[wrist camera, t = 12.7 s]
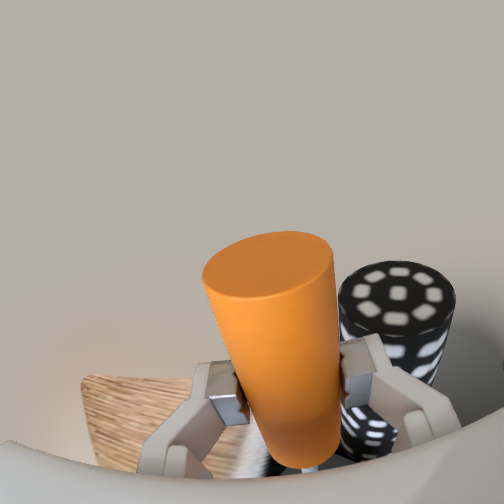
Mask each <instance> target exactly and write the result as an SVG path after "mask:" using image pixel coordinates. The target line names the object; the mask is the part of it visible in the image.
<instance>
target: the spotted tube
mask: <svg viewBox="0 0 504 504" xmlns="http://www.w3.org/2000/svg"><path fill="white" fill-rule="evenodd" d="M455 304H456V295H455V292H454V289H453V287H452V285H451V284H450V282H449V281H448V280H447V279H446V278H445V277H444V276H443V275H442V274H441V273H439V272H438V271H436V270H434V269H432V268H430V267H428V266H425V265H422V264H419V263H414V262H409V261H385V262H378V263H374V264H370V265H368V266H365V267H362V268H360V269H359V270H357V271H355V272H353V273H352V274H351V275H350V276H348V277H347V278H346V279H345V281H344V282H343V283H342V285H341V287H340V289H339V294H338V307H339V329H340V342H342V341H346V340H350V339H355V338H359V337H363V336H367V335H371V334H375V333H377V334H378V335H379V337H380V339H381V341H382V343H383V346H384V348H385V350H386V352H387V355H388V357H389V359H390V362H391V364H392V367H399V368H400V369H402V370H404V371H405V372H407V373H408V374H410V375H412V376H413V377H415V378H417V379H418V380H420V381H422V382H423V383H425V384H427V385H428V386H430V387H431V386H432V383H433V380H434V378H435V374H436V372H437V369H438V366H439V363H440V360H441V356H442V353H443V350H444V347H445V343H446V339H447V336H448V332H449V329H450V325H451V321H452V317H453V312H454V308H455ZM397 434H398V431H397V430H396V429H395V428H393V427H392V426H391V425H390V424H389V423H388V422H387V421H385V420H384V419H383V418H382V417H381V416H380V415H379V414H377V413H376V412H375V411H374V410H373V409H372V408H371V407H370V406H369V405H364V406H360V407H355V408H350V409H344V405H343V401H342V397H341V430H340V442H341V446H342V447H343V449H344V451H345V452H346V453H347V454H348V455H349V456H350V457H352V458H353V459H355V460H357V461H359V462H364V461H368V460H372V459H376V458H380V457H383V456H387V455H390V454H392V450H391V449H392V447H393V444H394V442H395V439H396V437H397Z"/></svg>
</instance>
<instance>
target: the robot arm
mask: <svg viewBox="0 0 504 504" xmlns="http://www.w3.org/2000/svg"><path fill="white" fill-rule="evenodd" d="M339 348H340V382H341V397H342V401H343V405H344V409H350V408H355V407H360V406H364V405H369V406H370V407H371V408H372V409H373V410H374V411H375V412H376V413H377V414H379V415H380V416H381V417H382V418H383V419H384V420H385V421H387V422H388V423H389V424H390V425H391V426H392V427H393V428H395V429H396V430H397V431H398V434H397V437H396V439H395V442H394V444H393V447H392V449H391V450H392V454H390V455H387V456H383V457H380V458H376V459H372V460H368V461H364V462H360V463H356V464H352V465H347V466H342V467H337V468H332V469H327V470H321V471H315V472H308V473H301V474H293V475H285V476H275V477H262V478H244V479H213V475H212V474H211V473H210V472H209V471H208V470H207V469H206V467H205V466H204V465H203V464H202V463H201V462H202V461H203V460H204V458H205V457H206V455H207V454H208V453H209V451H210V450H211V448H212V447H213V446H214V444H215V443H216V441H217V440H218V438H219V437H220V436H221V434H222V433H223V431H224V430H225V428H226V427H225V426H235V425H245V424H249V422H250V408H249V405H248V403H247V402H248V401H247V399H246V396H245V394H244V391H243V389H242V386H241V384H240V381H239V379H238V376H237V374H236V371H235V369H234V366H233V364H232V361H231V360H225V361H213V362H203V363H198V364H197V365H196V368H195V373H194V378H193V383H192V388H191V393H190V399H188V400H185V401H184V402H183V403H182V404H181V405H180V406H179V407H178V408H177V409H176V410H175V411H174V412H173V413H172V414H171V415H170V416H169V417H168V418H167V419H166V420H165V421H164V422H163V423H162V424H161V425H160V426H159V427H158V428H157V429H156V430H155V431H154V432H153V433H152V434H151V435H150V436H149V437H148V438H147V439H146V440H145V441H144V442H143V446H142V450H141V454H140V458H139V462H138V466H137V471H136V473H132V472H126V471H120V470H114V469H109V468H104V467H99V466H94V465H89V464H86V463H81V462H77V461H74V460H70V459H66V458H63V457H59V456H56V455H52V454H49V453H46V452H43V451H40V450H37V449H34V448H31V447H28V446H26V445H23V444H21V443H18V442H15V441H12V440H8V441H6V442H4V443H2V444H0V504H504V407H503V408H501V409H499V410H497V411H496V412H494V413H492V414H490V415H488V416H486V417H484V418H482V419H480V420H478V421H476V422H474V423H472V424H469V425H467V426H466V427H463V428H462V427H461V425H460V423H459V420H458V418H457V416H456V413H455V411H454V409H453V407H452V404H451V402H450V400H449V398H448V397H446V396H445V395H443V394H441V393H440V392H438V391H436V390H435V389H433V388H432V387H430V386H428V385H427V384H425V383H423V382H422V381H420V380H418V379H417V378H415V377H413V376H412V375H410V374H408V373H407V372H405V371H404V370H402V369H400V368H399V367H392V364H391V362H390V359H389V357H388V355H387V352H386V350H385V348H384V346H383V343H382V341H381V339H380V337H379V335H378V334H377V333H375V334H371V335H367V336H363V337H359V338H355V339H350V340H346V341H342V342H339Z"/></svg>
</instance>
